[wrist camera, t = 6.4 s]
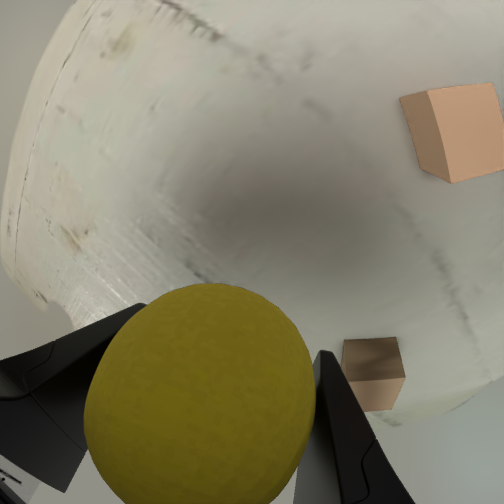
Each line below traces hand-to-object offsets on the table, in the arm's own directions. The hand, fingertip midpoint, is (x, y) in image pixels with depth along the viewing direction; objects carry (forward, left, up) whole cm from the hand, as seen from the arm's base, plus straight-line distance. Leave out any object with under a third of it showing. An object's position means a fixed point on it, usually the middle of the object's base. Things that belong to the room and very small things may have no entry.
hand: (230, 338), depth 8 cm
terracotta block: (-10, -9, -13) cm, 18 cm away
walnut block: (-11, +12, -13) cm, 20 cm away
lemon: (0, 0, -2) cm, 2 cm away
